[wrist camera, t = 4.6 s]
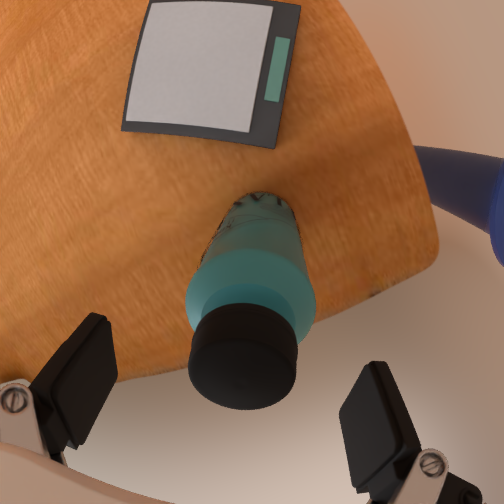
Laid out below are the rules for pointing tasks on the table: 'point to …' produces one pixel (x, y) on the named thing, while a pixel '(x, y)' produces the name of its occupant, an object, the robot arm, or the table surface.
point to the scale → (212, 69)
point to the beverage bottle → (250, 306)
